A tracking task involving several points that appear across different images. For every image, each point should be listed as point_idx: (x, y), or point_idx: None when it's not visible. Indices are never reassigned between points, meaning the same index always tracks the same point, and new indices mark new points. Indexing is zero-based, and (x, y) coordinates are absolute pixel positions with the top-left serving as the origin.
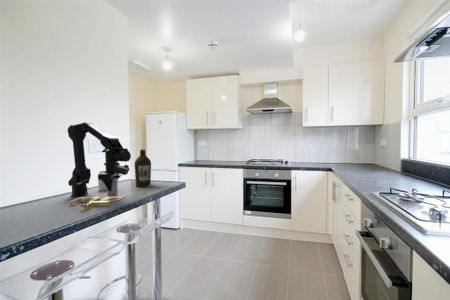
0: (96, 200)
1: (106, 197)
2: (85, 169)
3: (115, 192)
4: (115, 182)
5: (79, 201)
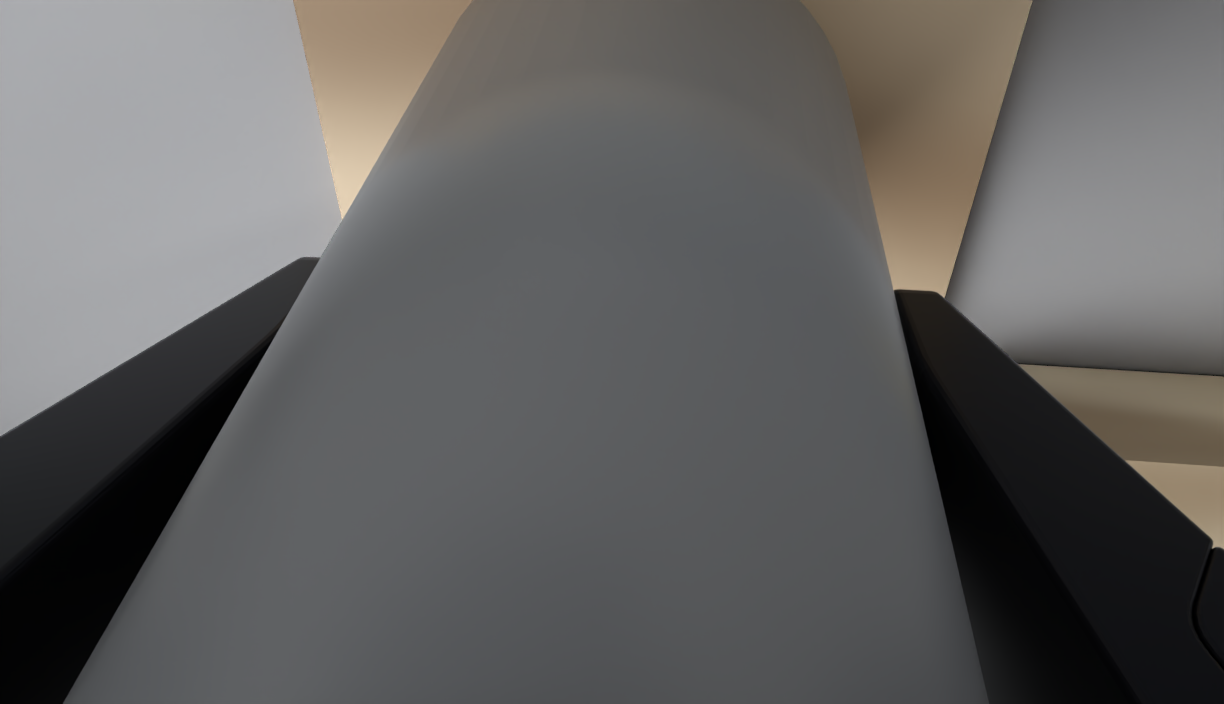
0: (1157, 435)
1: None
2: None
3: (772, 47)
4: (811, 523)
5: None
